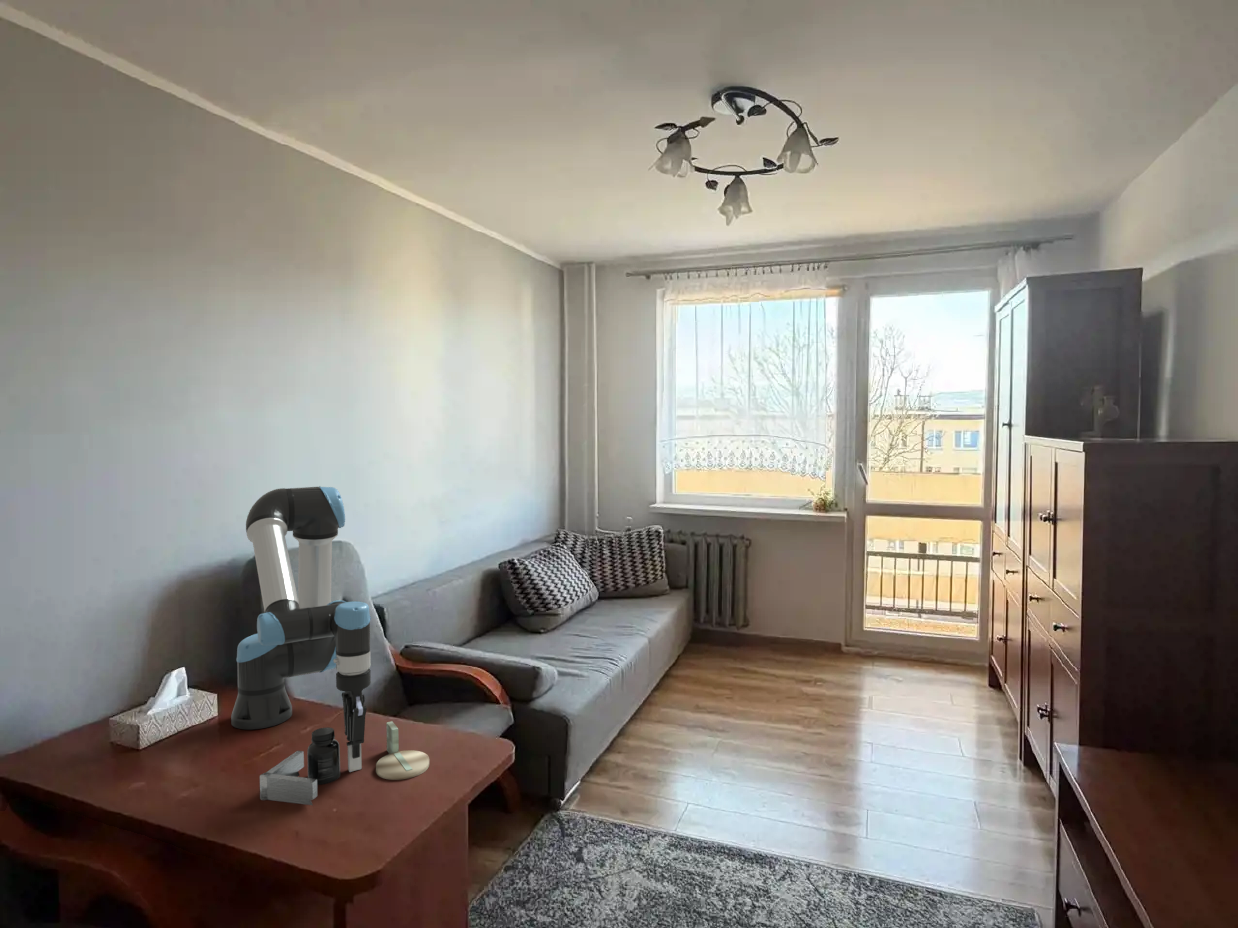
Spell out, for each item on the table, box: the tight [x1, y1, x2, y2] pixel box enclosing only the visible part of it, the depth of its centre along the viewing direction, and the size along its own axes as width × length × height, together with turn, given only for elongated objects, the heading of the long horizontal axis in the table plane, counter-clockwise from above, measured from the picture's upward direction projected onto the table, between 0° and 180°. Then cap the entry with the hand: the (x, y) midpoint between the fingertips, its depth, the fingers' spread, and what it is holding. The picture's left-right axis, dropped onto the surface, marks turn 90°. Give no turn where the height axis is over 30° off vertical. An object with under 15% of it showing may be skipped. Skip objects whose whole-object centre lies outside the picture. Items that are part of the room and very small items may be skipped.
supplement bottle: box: [306, 726, 341, 786], centre depth 164 cm, size 7×7×12 cm
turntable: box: [375, 720, 430, 781], centre depth 171 cm, size 17×12×7 cm
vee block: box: [259, 750, 318, 806], centre depth 160 cm, size 18×10×5 cm, turn 33°
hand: (354, 768), depth 168 cm, fingers closed
